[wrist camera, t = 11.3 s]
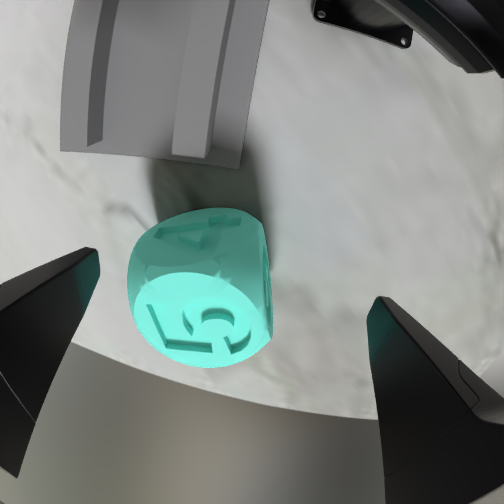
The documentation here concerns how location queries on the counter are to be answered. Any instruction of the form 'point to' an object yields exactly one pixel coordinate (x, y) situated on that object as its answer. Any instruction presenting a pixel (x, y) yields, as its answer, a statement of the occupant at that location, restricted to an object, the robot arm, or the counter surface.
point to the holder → (161, 78)
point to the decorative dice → (203, 287)
